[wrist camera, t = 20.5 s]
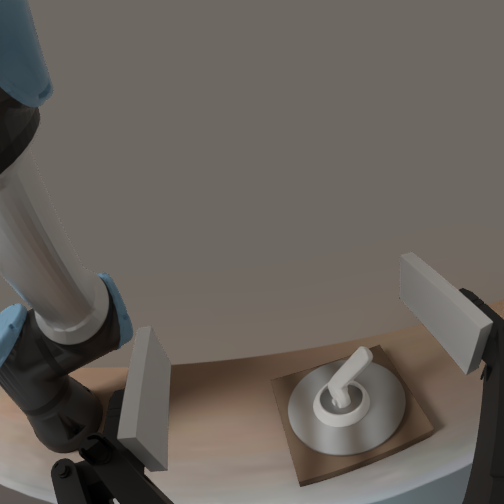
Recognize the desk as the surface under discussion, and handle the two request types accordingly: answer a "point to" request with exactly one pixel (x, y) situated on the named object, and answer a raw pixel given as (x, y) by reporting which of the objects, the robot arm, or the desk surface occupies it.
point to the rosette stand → (356, 435)
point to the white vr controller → (345, 391)
